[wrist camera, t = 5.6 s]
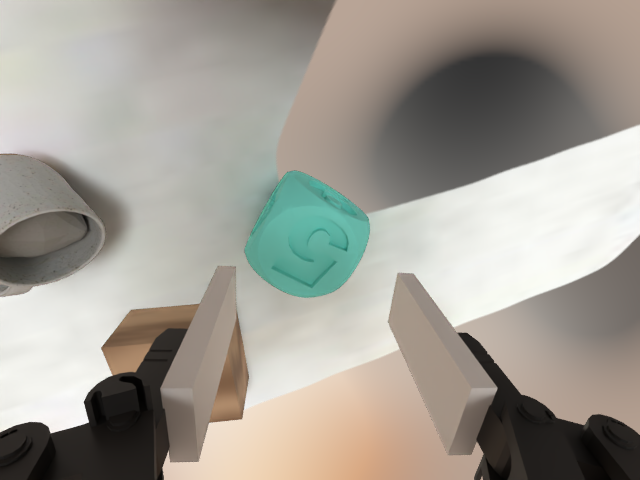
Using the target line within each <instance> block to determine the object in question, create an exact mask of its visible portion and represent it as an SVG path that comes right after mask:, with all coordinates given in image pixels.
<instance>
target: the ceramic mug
mask: <svg viewBox="0 0 640 480" xmlns="http://www.w3.org/2000/svg"><path fill="white" fill-rule="evenodd" d="M105 239H106V229H105V226H104V224H103V221H102V220H101V219H100V218H99V217H98V216H97V215H96V214H95V212H94V211H93V210H92V209H91V208H90V207H89V206H88V205H87V204H86V203H85V202H84V200H83V199H82V198H81V197H80V196H79V195H78V194H77V193H76V192H75V191H74V190H73V189H72V188H71V187H70V185H69V184H68V183H67V182H66V180H65V179H64V178H63V177H62V176H61V175H60V174H59V173H57V172H56V171H55V170H53V169H52V168H51V167H49V166H48V165H47V164H45V163H43V162H41V161H39V160H37V159H34V158H32V157H28V156H24V155H18V154H0V297H5V296H11V295H19V294H24V293H26V292H28V291H29V290H30V289H31V288H32V287H33V286H39V285H44V284H48V283H52V282H55V281H58V280H61V279H63V278H65V277H68V276H70V275H72V274H74V273H75V272H77V271H79V270H80V269H82V268H83V267H84V266H86V265H87V264H88V263H90V262H91V261H92V260H93V259H94V258H95V257H96V256H97V255H98V254H99V252H100V251H101V249H102V247H103V245H104V243H105Z"/></svg>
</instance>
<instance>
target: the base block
mask: <svg viewBox="0 0 640 480" xmlns="http://www.w3.org/2000/svg"><path fill="white" fill-rule="evenodd" d="M199 305H200V304H194V305H182V306H171V307H159V308H148V309H136V310H131V311H130V312H129V313H128V314H127V316H126V317H125V318H124V319H123V321H122V322H121V323H120V325H119V326H118V327H117V328H116V330H115V331H114V332H113V334H112V335H111V336H110V337H109V339H108V340H107V341H106V342H105V344H104V345H103V346H102V348H101V349H102V351H103V353H104V356H105V358H106V361H107V363H108V365H109V368H110V370H111V373H112V375H116V374H119V373H125V372H136V371H137V369H138V367H139V365H140V364H141V362H143V359H144V357H145V355H146V354H147V352H149V349H150V347H151V345H152V344H153V342H154V340H155V338H156V337H158V336H159V335H160V334H161V333H163V332H164V331H165V330H166V329H168V328H184V329H188V328H189V326H190V324H191V322H192V320H193V318H194V316H195V313H196V311H197V309H198V307H199ZM248 379H249V374H248V369H247V363H246V358H245V353H244V347H243V342H242V337H241V331H240V326H239V321H238V315H237V310H236V322H235V326H234V329H233V333H232V337H231V341H230V345H229V348H228V352H227V356H226V360H225V364H224V367H223V371H222V375H221V379H220V382H219V386H218V390H217V394H216V398H215V401H214V405H213V409H212V413H211V417H210V420H209V423H210V422H220V421H229V420H238V419H242V417H243V410H244V404H245V398H246V392H247V386H248Z"/></svg>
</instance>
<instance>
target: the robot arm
mask: <svg viewBox="0 0 640 480" xmlns="http://www.w3.org/2000/svg"><path fill="white" fill-rule="evenodd" d="M235 322H236V267H231V266H218V267H217V269H216V271H215V273H214V275H213V277H212V279H211V282H210V284H209V286H208V288H207V290H206V292H205V294H204V296H203V299H202V301H201V303H200V305H199V307H198V309H197V311H196V313H195V316H194V318H193V320H192V322H191V324H190V326H189V328H188V329H184V328H168V329H166V330H165V331H164V332H163V333H161V334H160V335H159V336H158V337H156V338H155V340H154V342H153V344H152V345H151V347H150V349H149V352H147V354H146V355H145V357H144V359H143V362H141V364H140V365H139V367H138V369H137V371H136V372H125V373H119V374H116V375H113V376H111V377H108V378H106V379H105V380H103V381H101V382H100V383H98V384H97V385H96V386H95V387H94V388H93V389H92V390H91V391H90V392H89V393H88V395H87V397H86V399H85V401H84V404H85V408H86V412H87V416H88V420H89V423H86V424H83V425H81V426H77V427H73V428H70V429H66V430H62V431H59V432H55V433H51V434H50V431H49V428H48V426H46V425H44V424H43V423H39V422H28V423H24V424H20V425H16V426H13V427H11V428H9V429H7V430H5V431H2V432H0V480H164V476H163V470H162V467H163V464H164V461H165V458H166V456H167V453H168V450H169V457H170V462H198V461H199V458H200V454H201V450H202V446H203V443H204V439H205V435H206V432H207V428H208V424H209V420H210V417H211V413H212V409H213V405H214V401H215V398H216V394H217V390H218V386H219V382H220V379H221V375H222V371H223V367H224V364H225V360H226V356H227V352H228V348H229V345H230V341H231V337H232V333H233V329H234V326H235ZM388 323H389V325H390V328H391V330H392V332H393V334H394V337H395V339H396V341H397V343H398V345H399V348H400V350H401V352H402V354H403V357H404V359H405V361H406V363H407V365H408V368H409V370H410V372H411V374H412V377H413V379H414V381H415V383H416V385H417V388H418V390H419V392H420V394H421V397H422V399H423V401H424V403H425V405H426V408H427V410H428V412H429V414H430V417H431V419H432V421H433V423H434V425H435V428H436V430H437V432H438V434H439V437H440V439H441V441H442V443H443V445H444V448H445V450H446V452H447V454H448V455H471V454H472V452H473V449H474V447H475V444H476V442H478V443H479V445H480V448H481V449H482V451H483V453H484V455H483V457H482V460H481V462H480V464H479V467H478V469H477V471H476V474H475V477H474V480H480V479H481V477H482V476H483V480H640V435H639V434H638V433H637V432H635V431H634V430H633V429H632V428H630V427H628V426H627V425H625V424H624V423H622V422H620V421H618V420H616V419H614V418H612V417H608V416H604V415H600V414H598V415H592V416H591V417H590V418H589V419H588V420H587V422H586V424H585V425H581V424H577V423H573V422H569V421H566V420H562V419H558V418H556V417H555V415H554V414H553V412H552V411H550V410H549V409H548V408H547V407H546V406H545V405H543V404H542V403H540V402H538V401H537V400H535V399H533V398H531V397H528V396H525V395H521V394H520V393H519V391H518V390H517V389H516V388H515V386H514V385H513V384H512V383H511V381H510V380H509V379H508V378H507V376H506V375H505V374H504V373H503V371H502V370H501V369H500V368H499V366H498V365H497V364H496V363H494V360H493V359H492V358H491V356H490V355H489V354H487V351H486V350H485V349H484V348H483V346H482V345H481V344H480V343H479V342H478V341H477V340H476V339H474V338H473V337H472V336H470V335H469V334H468V333H457V332H456V331H455V329H454V328H453V327H452V325H451V324H450V323H449V321H448V320H447V319H446V317H445V316H444V314H443V313H442V312H441V310H440V309H439V308H438V306H437V305H436V304H435V302H434V301H433V299H432V298H431V297H430V295H429V294H428V293H427V291H426V290H425V289H424V287H423V286H422V285H421V283H420V282H419V280H418V279H417V278H416V276H415V275H414V274H410V273H398V274H397V279H396V284H395V289H394V294H393V299H392V304H391V309H390V314H389V319H388Z"/></svg>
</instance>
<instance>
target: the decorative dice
mask: <svg viewBox="0 0 640 480" xmlns="http://www.w3.org/2000/svg"><path fill="white" fill-rule="evenodd" d="M369 233H370V224H369V219H368V217H367V216H366V215H365V213H364V212H363V211H362V210H361V209H359V208H358V207H357V206H356V205H355V204H354V203H352V202H351V201H350V200H348V199H347V198H346V197H344V196H343V195H342V194H340V193H339V192H337V191H335V190H334V189H332V188H331V187H329V186H328V185H326V184H324V183H322V182H321V181H319V180H317V179H315V178H313V177H311V176H309V175H307V174H305V173H302V172H299V171H290V172H287V173H286V174H285V175H284V176H283V178H282V179H281V181H280V182H279V184H278V185H277V187H276V188H275V190H274V192H273V193H272V195H271V197H270V198H269V200H268V202H267V204H266V206H265V207H264V209H263V211H262V213H261V215H260V217H259V219H258V220H257V222H256V224H255V226H254V228H253V230H252V233H251V235H250V237H249V239H248V242H247V244H246V247H245V250H244V251H245V254H246V257H247V260H248V262H249V264H250V265H251V267H252V268H253V269H254V270H255V271H256V273H257V274H258V275H259V276H261V277H262V278H263V279H264V280H265V281H267V282H268V283H269V284H271V285H272V286H274V287H276V288H277V289H279V290H281V291H283V292H285V293H288V294H291V295H294V296H297V297H304V298H309V297H318V296H322V295H326V294H329V293H331V292H333V291H335V290H337V289H338V288H340V287H341V286H342V285H343V284H344V283H345V282H346V281H347V280H348V278H349V277H350V276H351V274H352V273H353V272H354V270H355V268H356V267H357V265H358V263H359V261H360V260H361V258H362V255H363V253H364V251H365V248H366V245H367V242H368V238H369Z"/></svg>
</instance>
